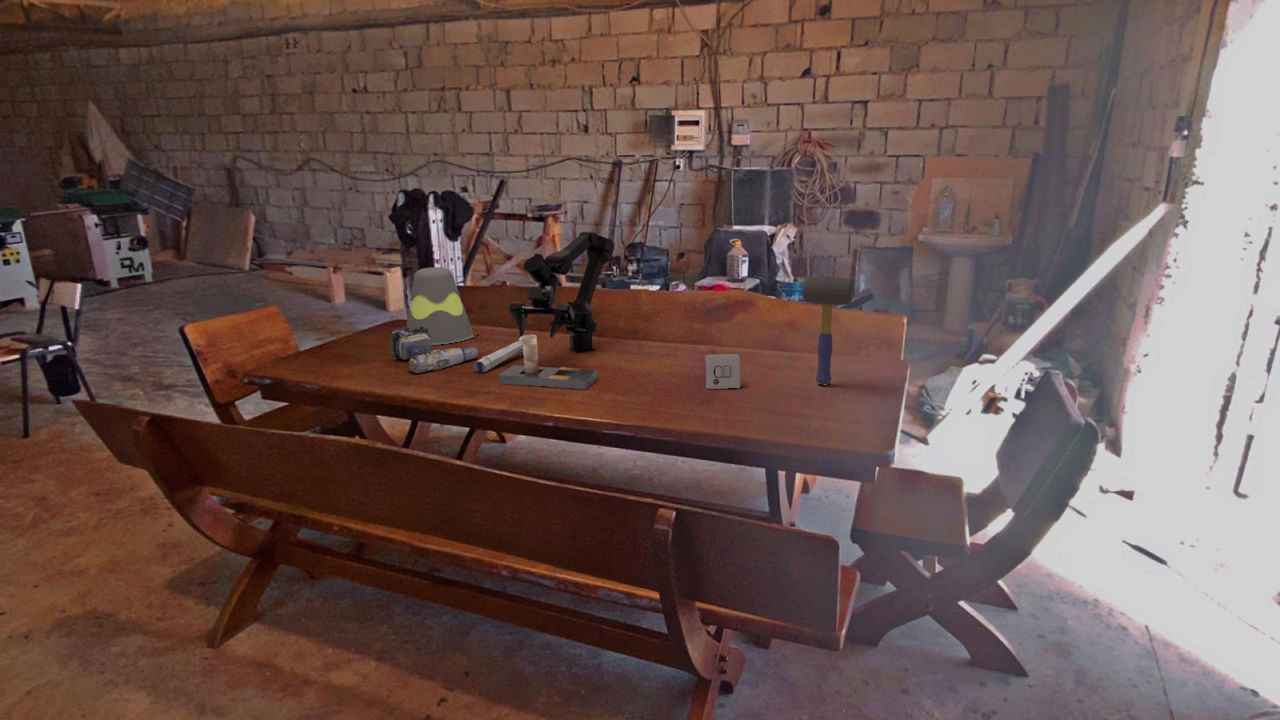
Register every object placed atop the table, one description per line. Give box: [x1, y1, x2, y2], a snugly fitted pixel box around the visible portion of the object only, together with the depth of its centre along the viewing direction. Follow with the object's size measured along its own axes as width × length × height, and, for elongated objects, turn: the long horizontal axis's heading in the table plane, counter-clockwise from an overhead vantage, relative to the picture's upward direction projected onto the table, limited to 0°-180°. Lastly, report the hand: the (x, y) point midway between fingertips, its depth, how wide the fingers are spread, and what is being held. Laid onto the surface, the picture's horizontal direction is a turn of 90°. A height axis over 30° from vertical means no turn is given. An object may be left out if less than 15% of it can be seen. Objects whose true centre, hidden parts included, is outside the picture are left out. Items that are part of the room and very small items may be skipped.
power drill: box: [389, 325, 479, 374], centre depth 234 cm, size 22×23×11 cm
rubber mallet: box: [802, 275, 854, 384], centre depth 200 cm, size 12×8×30 cm, turn 67°
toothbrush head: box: [473, 336, 523, 374], centre depth 232 cm, size 5×7×25 cm
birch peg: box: [522, 334, 539, 375], centre depth 212 cm, size 4×4×13 cm
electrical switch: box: [704, 353, 741, 390], centre depth 204 cm, size 9×5×9 cm, turn 90°
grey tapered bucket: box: [406, 266, 479, 346], centre depth 263 cm, size 28×28×24 cm
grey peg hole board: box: [498, 364, 598, 390], centre depth 212 cm, size 26×10×3 cm, turn 74°
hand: (535, 336), depth 216 cm, fingers open, 9 cm apart
